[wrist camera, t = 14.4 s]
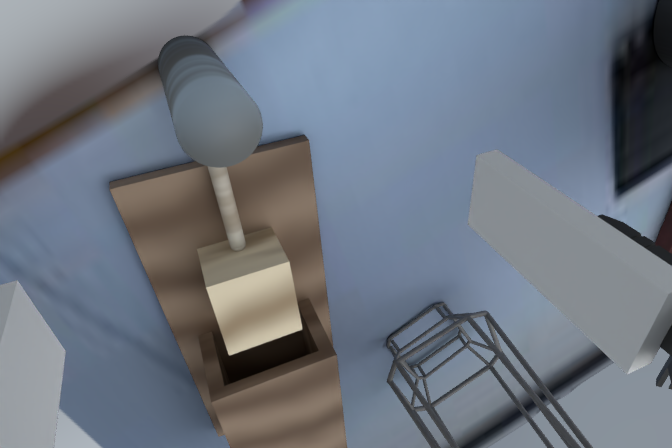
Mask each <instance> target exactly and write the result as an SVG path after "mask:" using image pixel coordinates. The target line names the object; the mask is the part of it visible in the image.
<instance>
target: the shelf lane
mask: <svg viewBox="0 0 672 448" xmlns="http://www.w3.org/2000/svg"><path fill="white" fill-rule="evenodd" d="M227 171H228V175H229V179H230V183H231V187H232V191H233V195H234V198H235V202H236V206H237V210H238V214H239V218H240V222H241V226H242V230H243V234H244V235H246V234H250V233H253V232H257V231H260V230H263V229H267V228H270V227H272V229H273V231H274V233H275V235H276V237H277V238H278V240H279V242H280V244H281V246H282V248H283V250H284V252H285V254H286V256H287V258H288V260H289V262H290V267H291V272H292V278H293V283H294V288H295V293H296V298H297V303H298V308H299V313H300V318H301V324H302V330H300V331H297V332H294V333H291V334H288V335H286V336H283V337H280V338H277V339H275V340H272V341H269V342H266V343H263V344H261V345H258V346H255V347H252V348H249V349H247V350H244V351H241V352H238V353H235V354H233V355H230V356H229V354H228V351H227V348H226V345H225V342H224V339H223V336H222V333H221V330H220V327H219V324H218V321H217V318H216V315H215V313H214V310H213V307H212V304H211V301H210V298H209V295H208V292H207V289H206V285H205V281H204V277H203V272H202V268H201V264H200V260H199V255H198V251H197V249H198V248H202V247H205V246H209V245H212V244H216V243H219V242H222V241H226V240H228V237H227V234H226V230H225V227H224V223H223V219H222V216H221V212H220V209H219V205H218V202H217V198H216V195H215V191H214V187H213V184H212V180H211V177H210V173H209V170H208V166H205V165H202V164H200V163H198V162H196V161H195V162H191V163H187V164H183V165H178V166H174V167H170V168H166V169H162V170H158V171H154V172H149V173H145V174H141V175H137V176H133V177H129V178H125V179H120V180H116V181H112V182H110V191H111V194H112V196H113V198H114V201H115V203H116V205H117V207H118V210H119V212H120V214H121V216H122V219H123V221H124V223H125V225H126V228H127V230H128V232H129V235H130V237H131V239H132V241H133V244H134V246H135V248H136V250H137V253H138V255H139V257H140V259H141V262H142V264H143V266H144V268H145V271H146V273H147V275H148V278H149V280H150V282H151V284H152V287H153V289H154V291H155V293H156V296H157V298H158V300H159V302H160V305H161V307H162V309H163V312H164V314H165V316H166V318H167V321H168V323H169V325H170V327H171V330H172V332H173V334H174V336H175V339H176V341H177V343H178V346H179V348H180V350H181V352H182V355H183V357H184V359H185V361H186V364H187V366H188V368H189V370H190V373H191V375H192V377H193V380H194V382H195V384H196V386H197V389H198V391H199V393H200V395H201V398H202V400H203V402H204V404H205V407H206V409H207V411H208V414H209V416H210V418H211V420H212V423H213V425H214V427H215V429H216V432H217V434H218V436H222V435H224V434H225V436H226V438H227V441H228V443H229V446H230V448H347V442H346V433H345V425H344V416H343V407H342V398H341V389H340V380H339V371H338V362H337V354H336V352H335V350H334V348H333V341H332V332H331V324H330V315H329V307H328V298H327V290H326V281H325V273H324V264H323V256H322V247H321V239H320V230H319V222H318V213H317V204H316V196H315V187H314V179H313V170H312V162H311V153H310V145H309V140H308V139H307V137H306V136H305V135H303V136H298V137H294V138H290V139H286V140H282V141H278V142H274V143H269V144H265V145H261V146H257V147H256V149H255V150H254V151H253V153H252V154H251V155H250V156H249V157H247V158H246V159H245V160H243V161H242V162H240V163H238V164H236V165H233V166H229V167H227Z"/></svg>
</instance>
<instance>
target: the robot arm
mask: <svg viewBox="0 0 672 448" xmlns="http://www.w3.org/2000/svg"><path fill="white" fill-rule="evenodd" d="M653 36H654V45H655V49H656V52H657V54H658V56H659V58H660V59H661V60H662V62H664V63H665V64H666V65H668V66H670V67H672V0H659V2H658V6H657V10H656V14H655V20H654V32H653ZM468 225H469V226H470V227H471V228H472V229H473V230H474V231H475V232H476V233H477V234H478V235H479V236H480V237H482V238H483V239H484V240H485V241H486V242H487V243H488V244H489V245H490V246H491V247H492V248H493V249H494V250H495V251H496V252H497V253H499V254H500V255H501V256H502V257H503V258H504V259H505V260H506V261H507V262H508V263H509V264H510V265H511V266H512V267H513V268H514V269H516V270H517V271H518V272H519V273H520V274H521V275H522V276H523V277H524V278H525V279H526V280H527V281H528V282H529V283H530V284H531V285H533V286H534V287H535V288H536V289H537V290H538V291H539V292H540V293H541V294H542V295H543V296H544V297H545V298H546V299H547V300H548V301H550V302H551V303H552V304H553V305H554V306H555V307H556V308H557V309H558V310H559V311H560V312H561V313H562V314H563V315H564V316H565V317H567V318H568V319H569V320H570V321H571V322H572V323H573V324H574V325H575V326H576V327H577V328H578V329H579V330H580V331H581V332H582V333H584V334H585V335H586V336H587V337H588V338H589V339H590V340H591V341H592V342H593V343H594V344H595V345H596V346H597V347H598V348H599V349H601V350H602V351H603V352H604V353H605V354H606V355H607V356H608V357H609V358H610V359H611V360H612V361H613V362H614V363H615V364H617V365H618V366H619V367H620V368H621V369H622V370H623V371H624V372H625V373H626V374H629V373H631V372H633V371H635V370H637V369H639V368H642V367H644V366H646V365H648V364H651V362H652V361H653V359H654V357H655V355H656V354H657V352H658V350H659V348H660V347H661V348H662V349H664V350H665V351H666V352H667V353H668V354H670V357H669V358H668V360H667V362H666V363H665V365H664V367H663V368H662V370H661V372H660V373H659V375H658V377H657V379H656V386H659V387H662V385H663V383H664V382H665V380H666V379H667V377H668V375H669V376H670V380H671V384H670V386H669V389H672V254H671V253H670V252H668V251H667V250H665V249H664V248H662V247H661V246H659V245H658V246H656V245H655V243H654V242H653V241H651V240H650V239H648V238H647V237H645V236H643V237H642V236H641V234H640V233H639V232H637V231H636V230H634V229H633V228H631V227H630V226H628V225H627V224H625V223H623V222H621V221H618V220H616V219H613V218H610V217H608V216H605V215H599V216H596V215H595V214H593V213H592V212H590V211H589V210H587V209H586V208H584V207H583V206H581V205H580V204H578V203H577V202H575V201H574V200H572V199H571V198H569V197H568V196H566V195H565V194H563V193H562V192H560V191H559V190H557V189H556V188H554V187H553V186H551V185H550V184H548V183H547V182H545V181H544V180H542V179H541V178H539V177H538V176H536V175H535V174H533V173H532V172H530V171H529V170H527V169H526V168H524V167H523V166H521V165H520V164H518V163H517V162H515V161H514V160H512V159H511V158H509V157H508V156H506V155H505V154H503V153H502V152H500V151H499V150H493V151H490V152H486V153H482V154H479V155H477V156H476V164H475V172H474V180H473V188H472V195H471V203H470V211H469V219H468ZM65 352H66V351H65V350H64V348H63V347H62V345H61V344H60V342H59V341H58V339H57V338H56V336H55V335H54V333H53V332H52V330H51V329H50V328H49V326H48V325H47V323H46V322H45V320H44V319H43V317H42V316H41V314H40V313H39V311H38V310H37V309H36V307H35V306H34V304H33V303H32V301H31V300H30V298H29V297H28V295H27V294H26V292H25V291H24V289H23V288H22V287H21V285H20V284H19V282H18V281H13V282H10V283H6V284H2V285H0V448H54V443H55V436H56V427H57V419H58V411H59V403H60V394H61V386H62V377H63V369H64V361H65Z"/></svg>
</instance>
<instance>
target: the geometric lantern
mask: <svg viewBox="0 0 672 448" xmlns="http://www.w3.org/2000/svg"><path fill="white" fill-rule="evenodd" d="M440 306H443V307H444V309H445V310H446V311H447V312H448V314H449V315H448V316H445V314H444V313H443V312H442V311H441V310H440V308H439V307H440ZM435 308H436V310H437V311H438V312H439V314H440V315H441V316H442V317H443V318H444V319H442V320H441V321H439V322H438V323H437V324H435V325H434V326H432V327H431V328H430V329H428V330H427V331H425V332H424V333H423V334H421V335H420V336H418V337H417V338H415V339H414V340H413V341H411V342H410V343H408V344H407V345H406V346H404V347H403V348H401V349H399V347H398V346H397V344H396V343H395V342H394V340H391V339H393V338H394V337H396V336H397V335H398V334H400V333H401V332H403V331H404V330H405V329H407V328H408V327H410V326H411V325H412V324H414V323H415V322H417V321H418V320H419V319H421V318H422V317H424V316H425V315H426V314H428V313H429V312H431V311H432V310H433V309H435ZM481 316H484V317H485V319H486V322H487V325H488V328H489V330H490V333H491V336H492V338H493V341H494V343H493V342H492V341H491V340H490V339H489V337H488V336H487V335H486V334H485V333H484V332H483V330H482V329H481V328H480V327H479V326H478V325H477V323H476V322H475V321H474V320H473V318H477V317H481ZM448 319H453V321H454V323H453V324H451V325H450V326H448V327H446V328H445V329H443V330H442V331H440V332H439V333H437V334H436V335H434V336H432V337H431V338H429V339H428V340H426V341H425V342H423V343H421V344H420V345H418V346H417V347H415V348H414V349H412V350H411V351H409V352H407V353H406V354H404V355H403V356H400V353H402V352H403V351H404V350H406V349H407V348H409V347H410V346H411V345H413V344H414V343H416V342H417V341H419V340H420V339H421V338H423V337H424V336H426V335H427V334H428V333H430V332H431V331H433V330H434V329H435V328H437V327H438V326H440V325H441V324H442V323H444V322H445V321H447V320H448ZM466 321H468V322H469V323H470V324H471V325H472V327H473V328H474V329H475V330H476V331H477V333H478V334H479V335H480V336H481V337H482V339H483V340H484V341H485V342H486V343H487V345H488V346H486V345H484V344H481V343H478V342H475V341H473V340H471V338H470V337H469V336H468V335H467V333H466V332H465V330H464V329H463V327H462V326H461V324H462V323H464V322H466ZM456 327H458V328H459V332H458V335H457V336H456V337H454V338H453V339H452V340H450V341H449V342H447V343H446V344H445V345H443V346H442V347H440V348H439V349H438V350H436V351H435V352H433V353H432V354H431V355H429V356H428V357H426V358H425V359H424V360H422V361H421V362H419V363H418V364H415V365H411V366H409V365H408V364H407V363H406V362H405V360H406V359H408V358H409V357H411V356H412V355H414V354H416V353H417V352H419V351H420V350H422V349H423V348H425V347H426V346H428V345H430V344H431V343H433V342H434V341H436V340H437V339H439V338H441V337H442V336H444V335H445V334H447V333H448V332H450V331H451V330H453V329H455V328H456ZM494 328H495V330H496V331H497V332H498V334H499V335H500V336H501V338H502V339H503V340H504V342H505V343H506V344H507V346H508V347H509V348H510V349H511V351H512V352H513V353H514V355H515V356H516V357H517V359H518V360H519V361H520V363H521V364H522V365H523V367H524V368H525V369H526V371H527V372H528V373H529V375H530V376H531V377H532V379H533V380H534V381H535V382H536V384H537V385H538V386H539V388H540V389H541V390H542V392H543V393H544V394H545V396H546V397H547V398H548V400H549V401H550V402H551V404H552V405H553V406H554V407H555V409H556V410H557V411H558V413H559V414H560V415H561V417H562V418H563V419H564V421H565V422H566V423H567V425H568V426H569V427H570V429H571V430H572V431H573V433H574V434H575V435H576V437H577V438H578V439H579V441H580V442H581V443H582V444H583V446H584V447H585V448H593V447H592V446H591V445H590V443H589V442H588V441H587V440H586V438H585V437H584V436H583V434H582V433H581V432H580V430H579V429H578V428H577V426H576V425H575V424H574V423H573V421H572V420H571V419H570V417H569V416H568V415H567V414H566V412H565V411H564V410H563V408H562V407H561V406H560V404H559V403H558V402H557V400H556V399H555V398H554V397H553V395H552V394H551V393H550V391H549V390H548V389H547V388H546V386H545V385H544V384H543V382H542V381H541V380H540V378H539V377H538V376H537V375H536V373H535V372H534V371H533V369H532V368H531V367H530V366H529V364H528V363H527V362H526V360H525V359H524V358H523V356H522V355H521V354H520V353H519V351H518V350H517V349H516V347H515V346H514V345H513V343H512V342H511V341H510V340H509V338H508V337H507V336H506V334H505V333H504V332H503V331H502V329H501V328H500V327H499V325H498V324H497V323H496V322H495V320H494V319H493V318H492V316H491V315H490V314H489V313H488V312H487V311H480V312H476V313H465V314H452V312H451V311H450V309H449V308H448V306H447V305H446V304H445V303H444V302H443V303H439V304H435V305H433V306H432V307H431V308H429V309H428V310H426V311H425V312H424V313H422V314H421V315H419V316H418V317H417V318H415V319H414V320H412V321H411V322H410V323H408V324H407V325H405V326H404V327H403V328H401V329H400V330H398V331H397V332H396V333H394V334H393V335H391V336H390V337H388V342H387V347H388V348H389V349H390V351H391V352H392V354H393V356H394V360H393V364H392V367H391V370H390V373H389V376H388V379H387V382H388V384H389V385H390V386H391V388H392V389H393V391H394V392H395V394H396V395H397V397H398V398H399V400H400V401H401V403H402V404H403V406H404V407H405V409H406V410H407V412H408V413H409V415H410V416H411V418H412V419H413V421H414V422H415V424H416V425H417V427H418V428H419V430H420V431H421V433H422V434H423V436H424V437H425V439H426V440H427V442H428V443H429V445H430V446H431V448H441V447H440V446H439V444H438V443H437V441H436V440H435V439H434V437H433V436H432V434H431V433H430V431H429V430H428V428H427V427H426V425H425V424H424V422H423V421H422V419H421V418H420V416H419V415H418V414H417V411H425V410H426V411H427V412H428V414H429V415H430V416H431V418H432V419H433V421H434V422H435V424H436V425H437V427H438V428H439V430H440V431H441V433H442V434H443V436H444V437H445V438H446V440H447V441H448V443H449V444H450V446H451V447H452V448H459V447H458V445H457V444H456V442H455V441H454V439H453V437H452V436H451V434H450V433H449V431H448V429H447V428H446V426H445V425H444V423H443V421H442V420H441V418H440V416H439V415H438V413H437V411H436V410H435V408H434V407H435V406H437V405H438V404H440V403H441V402H442V401H444V400H445V399H447V398H448V397H450V396H451V395H453V394H454V393H456V392H457V391H458V390H460V389H461V388H463V387H464V386H466V385H467V384H469V383H470V382H472V381H473V380H474V379H476V378H477V377H479V376H480V375H482V374H483V373H485V372H486V371H488V370H489V369H490V370H491V372H492V373H493V374H494V376H495V377H496V378H497V380H498V381H499V382H500V384H501V385H502V387H503V388H504V389H505V391H506V392H507V393H508V395H509V396H510V397H511V399H512V400H513V402H514V403H515V404H516V406H517V407H518V408H519V410H520V411H521V412H522V414H523V415H524V417H525V418H526V419H527V421H528V422H529V423H530V425H531V426H532V427H533V429H534V430H535V431H536V433H537V434H538V435H539V437H540V438H541V440H542V441H543V442H544V444H545V445H546V446H547V448H554V447H553V446H552V445H551V443H550V442H549V441H548V439H547V438H546V437H545V435H544V434H543V433H542V431H541V430H540V429H539V427H538V426H537V425H536V423H535V422H534V421H533V419H532V418H531V417H530V415H529V414H528V413H527V411H526V410H525V409H524V407H523V406H522V405H521V403H520V402H519V401H518V399H517V398H516V397H515V395H514V394H513V392H512V391H511V390H510V388H509V387H508V386H507V384H506V383H505V382H504V380H503V379H502V378H501V376H500V375H499V374H498V372H497V371H496V370H495V368H494V367H493V365H494V364H495V363H496V361H497V360H498V359H500V360H501V362H502V363H503V364H504V365H505V366H506V368H507V369H508V370H509V371H510V372H511V374H512V375H513V376H514V377H515V378H516V380H517V381H518V382H519V383H520V385H521V386H522V387H523V388H524V389H525V391H526V392H527V393H528V394H529V396H530V397H531V398H532V400H533V401H534V402H535V404H536V405H537V406H538V408H539V409H540V410H541V412H542V413H543V414H544V416H545V417H546V419H547V420H548V421H549V423H550V424H551V425H552V426H553V428H554V429H555V431H556V432H557V433H558V435H559V436H560V437H561V439H562V440H563V441H564V443H565V444H566V445H567V447H568V448H581V447H580V446H579V445H578V444H577V442H576V441H575V440H574V439H573V438H572V436H571V435H570V434H569V433H568V432H567V430H566V429H565V428H564V427H563V426H562V424H561V423H560V422H559V421H558V420H557V419H556V417H555V416H554V415H553V414H552V413H551V411H550V410H549V409H548V408H547V407H546V405H545V404H544V403H543V402H542V401H541V399H540V398H539V397H538V396H537V395H536V393H535V392H534V391H533V390H532V389H531V388H530V386H529V385H528V384H527V383H526V382H525V380H524V379H523V378H522V377H521V376H520V374H519V373H518V372H517V370H516V369H515V368H514V366H513V365H512V364H511V362H510V361H509V360H508V358H507V357H506V355H505V354H504V353H503V351H502V349H501V347H500V344H499V341H498V338H497V335H496V333H495V330H494ZM461 333H463V334H464V336H465V337H466V338H467V340H468V342H467V343H466V342H465V341H464V339H463V338H462V336H461ZM458 338H459V339H460V340H461V342H462V343H463V345H464V346H463V347H462V348H460V349H459V350H458V351H456V352H455V353H454V354H452V355H451V356H450V357H449V358H447V359H446V360H445V361H443V362H442V363H441V364H439V365H438V366H437V367H435V368H434V369H433V370H431V371H430V372H429V373H427V374H425V373H424V371H423V370H422V368H421V366H420V365H422V364H423V363H425V362H426V361H427V360H429V359H430V358H432V357H433V356H434V355H436V354H437V353H439V352H440V351H441V350H443V349H444V348H446V347H447V346H448V345H450V344H451V343H453V342H454V341H455V340H457V339H458ZM390 343H392V344H393V346H394V347H395V348H396V350H397V352H396V351H395V350H394V349H393V348H392V346H390ZM470 343H472V344H475V345H477V346H480V347H483V348H486V349H488V350H491V351H493V352H494V353H495V354H496V355H495V356H494V357H493V359H492V360H491V361H490V363H488V362H487V361H486V360H485V359H484V358H483V357H482V356H480V355H479V354H478V353H477V352H476V351H475V350H474V349H473V348H471V347H470V346H469V344H470ZM494 344H495V345H494ZM466 348H468V349H469V350H470V351H472V352H473V353H474V354H475V355H476V356H477V357H478V358H479V359H481V360H482V361H483V362H484V363H485V364H486V365H487V366H485V367H484V368H482V369H481V370H479V371H478V372H476V373H475V374H474V375H472V376H471V377H469V378H468V379H466V380H465V381H463V382H462V383H460V384H459V385H458V386H456V387H455V388H453V389H452V390H450V391H449V392H447V393H446V394H444V395H443V396H442V397H440V398H439V399H437V400H436V401H434V402H433V403H431V400H430V396H429V392H428V387H427V383H426V378H427V377H429V376H430V375H431V374H433V373H434V372H435V371H437V370H438V369H439V368H441V367H442V366H443V365H445V364H446V363H447V362H448V361H450V360H451V359H452V358H454V357H455V356H456V355H458V354H459V353H460V352H462V351H463V350H464V349H466ZM403 367H404V368H405V369H406V370H408V371H409V372H410V373H411V374H412V375H413V376H414V377H415V378H416V381H415V384H414V382H413V381H412V379H411V378H410V376H409V375H408V374H407V372H406V371H405V369H404V368H403ZM416 367H418V369H419V370H420V372H421V374H422V375H423V376H418V375H417V373H416V372H415V370H414V369H413V368H416ZM396 368H398V370H399V371H400V372H401V374H402V375H403V377H404V378H405V380H406V381H407V383H408V384H409V386H410V387H411V389H412V390H413V397H412V402H411V404H410V402H409V401H408V400H407V398H406V397H405V396H404V395H403V393H402V392H401V391H400V389H399V388H398V387H397V386H396V384H395V383H394V382H393V377H394V374H395V371H396ZM419 379H423V383H424V388H425V392H426V396H427V400H428V402H427V401H426V399H425V398H424V397H423V395H422V394H421V392H420V391H419V389H418V388H417V387H418V382H419ZM416 396H417V397H418V399H419V400H420V402H421V403H422V405H423V406H419V407H414V403H415V397H416Z"/></svg>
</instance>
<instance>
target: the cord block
mask: <svg viewBox="0 0 672 448" xmlns="http://www.w3.org/2000/svg"><path fill="white" fill-rule="evenodd" d="M158 68H159V72H160V76H161V80H162V83H163V87H164V91H165V95H166V98H167V102H168V106H169V110H170V113H171V117H172V121H173V125H174V128H175V132H176V136H177V139H178V142H179V144H180V146H181V147H182V149H183V150H184V152H185V153H186V154H187V155H188V156H189V157H191V158H192V159H193V160H195V161H196V162H198V163H200V164H202V165H205V166H208V170H209V173H210V177H211V180H212V184H213V187H214V191H215V195H216V198H217V202H218V205H219V209H220V212H221V216H222V219H223V223H224V227H225V230H226V234H227V237H228V240H226V241H222V242H219V243H216V244H212V245H209V246H205V247H202V248H198V249H197V251H198V255H199V260H200V264H201V268H202V272H203V277H204V281H205V285H206V289H207V292H208V295H209V298H210V301H211V304H212V307H213V310H214V313H215V315H216V318H217V321H218V324H219V327H220V330H221V333H222V336H223V339H224V342H225V345H226V348H227V351H228V354H229V356H230V355H233V354H235V353H238V352H241V351H244V350H247V349H249V348H252V347H255V346H258V345H261V344H263V343H266V342H269V341H272V340H275V339H277V338H280V337H283V336H286V335H288V334H291V333H294V332H297V331H300V330H302V324H301V318H300V313H299V308H298V303H297V298H296V293H295V288H294V283H293V278H292V272H291V267H290V262H289V260H288V258H287V256H286V254H285V252H284V250H283V248H282V246H281V244H280V242H279V240H278V238H277V237H276V235H275V233H274V231H273V229H272V227H270V228H267V229H263V230H260V231H257V232H253V233H250V234H246V235H244V234H243V230H242V226H241V222H240V218H239V214H238V210H237V206H236V202H235V198H234V195H233V191H232V187H231V183H230V179H229V175H228V171H227V167H229V166H233V165H236V164H238V163H240V162H242V161H243V160H245V159H246V158H247V157H249V156H250V155H251V154H252V153H253V151H254V150H255V149H256V147H257V146H258V144H259V141H260V139H261V135H262V129H263V123H262V117H261V113H260V111H259V108H258V107H257V105H256V103H255V102H254V101H253V99H252V98H251V97H250V96H249V94H248V93H247V92H246V91H245V89H244V88H243V87H242V86H241V85H240V83H239V82H238V81H237V80H236V78H235V77H234V76H233V75H232V73H231V72H230V71H229V70H228V68H227V67H226V66H225V65H224V64H223V62H222V61H221V60H220V59H219V57H218V56H217V55H216V54H215V52H214V51H213V50H212V49H211V48H210V46H209V45H208V44H207V43H205V42H204V41H202V40H201V39H199V38H196V37H193V36H179V37H176V38H173V39H171V40H170V41H168V42H167V43H166V44H165V45H164V47H163V48H162V50H161V52H160V55H159V58H158Z"/></svg>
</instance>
